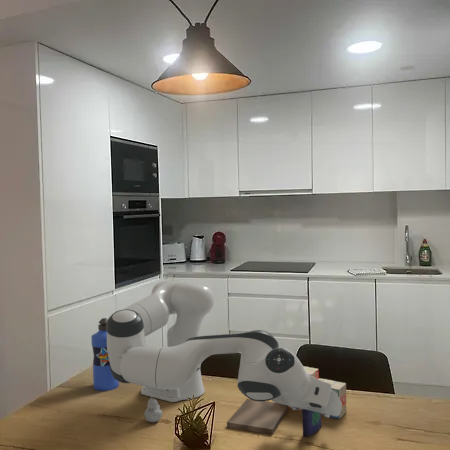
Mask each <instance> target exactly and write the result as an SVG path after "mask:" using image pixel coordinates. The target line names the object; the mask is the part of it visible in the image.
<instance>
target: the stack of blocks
mask: <svg viewBox="0 0 450 450" xmlns="http://www.w3.org/2000/svg"><path fill="white" fill-rule="evenodd" d="M303 367H304V369H305V372H306V373H307V374H309V375H311V376H312V377H314V378H316V379H319V380H321V381H324V382H327V383H329V384H331V386H332V387H331V390H333V391H334V392H335V393H336V394H337V395H338V397H339V398H340V400H341V402H342V409H341V413H340V415H339V416H333V415H330V416H329V418H332V419H338V420H340V419H341V418H342V417H343V416H344V415H345V414H346V413H347V383H346V382H342V381H336V380H332V379H327V378H320V371H319V368H317V367H316V368H315V367H309V366H304V365H303ZM288 408H290V409H292V408H291V407H289V406H288ZM298 411H302V409H301V408H298ZM321 416H323V413H321Z"/></svg>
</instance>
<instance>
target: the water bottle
mask: <svg viewBox="0 0 450 450" xmlns="http://www.w3.org/2000/svg"><path fill="white" fill-rule="evenodd" d="M108 319H109V318H105V317H103V318H102V317H101V319H100V320H99V322H98V325H97V326H98V330H97V332H94V333H93V334H92V335H91V347H92V353H93V361H92V379H93V389H94V390H95V391H99V392H106V391H107V392H108V391H113V390H115V389H117V388H118V387H119V386H120V382H119V381H117V380H116V379H114V378H113V376H112V374H111V370H110V361H109V356H108V351H107V331H106V326H107V321H108Z"/></svg>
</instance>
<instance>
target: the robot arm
mask: <svg viewBox="0 0 450 450" xmlns="http://www.w3.org/2000/svg"><path fill="white" fill-rule="evenodd" d="M214 303H215V297H214V293H213V291H212V289H211V288H209V287H207V286H205V285H203V284H199V283H194V282H189V281H188V282H186V281H178V280H177V281H176V280H165V281H164V280H163V281H159V282H157V283H156V284H155V285H154V286H153V288H152V290H151V293H150V295H148V296H146V297H145V298H142V299H141V300H138V301H137V302H134V303H131V304H130V305H129V306H127V307H125V308H123V309H121V310H120V309H119V310H117V311H115V312H113V313H112V314H111V315H110V316H109V317H108V318H107V319H108V321H107V326H106V331H107V351H108V356H109V361H110V370H111V374H112V376H113V378H114V379H116V380H117V381H119V383H122V384H134V385H137V386H140V387H141V386H142V388H141V390H140V394H141V395H144V396H147V397H150V398H151V397H152V398H153V399H154V398H155V399H159V400H162V401H165V402H169V403H170V402H171V403H175V402H179V401H185V400H191V399H196V398H198V397H201V396H202V395H204V393H205V392H206V391H205V389H206V388H205V386H204V383H203V377H202V372H201V366H202V365H201V364H202V363H203V361H205V360H206V359H207V358H208V357H210V356H212V355H221V354H222V355H223V354H225V355H226V354H241V355H240V361H239V362H240V363H239V369H238V376H237V388H238V390H239V391H240V393H241V394H242V395H244V396H245V397H246V398H247V399H251V400H254V401H266V402H270V401H272V402H273V403H279V404H283V405H288V406H289V407H288V408H290V407H291V408H290V409H292V410H293V411H299V410H298V408H301V409H306V410H310V411H315V412H319V413H323V415H322V416H323V417H324V418H330V417H329V416H330V415H333V416H339V415H340V413H341V409H342V402H341V400H340V398H339V397H338V395H337V394H336V393H335V392H334V391H333V390H331V387H332V386H331V384H329V383H327V382H324V381H321V380H319V379H316V378H314V377H312V376H311V375H309V374H307V373H306V372H305V369H304V367H303V366H304V365H303V364H302V362H301V361H300V359H299V358H298V357H297V355H296V354H294V352H292V351H291V350H289V349H287V348H284V347H280V345H279V342H278V341H277V339H276V338H275V336H274V335H273V334H271V333H270V332H268V331H266V330H264V329H263V330H262V329H257V330H256V329H255V330H250V331H246V332H241V333H225V334H212V335H201V336H200V328H201V325H202V322H203V319H204V318H205V317H206V316H207V315H208V314H209V313H210V312H211V311H212V309H213V307H214ZM175 314H176V320H175V323H174V324H173V325H171V326H170V327H169V328H168V329H167V332H166V339H167V341H166V342H167V343H166V344H167V346H160V345H159V346H158V345H154V346H153V345H149V346H148V345H147V343H146V337H147V336H149V335H151V334H153V333H155V332H156V331H158V330H160V329H162V328H163V327H165V326H166V325H167V323H168V321H169V318H170V315H175ZM193 395H194V398H193ZM188 397H189V398H190V399H188Z"/></svg>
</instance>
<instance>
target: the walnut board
mask: <svg viewBox="0 0 450 450" xmlns="http://www.w3.org/2000/svg"><path fill="white" fill-rule="evenodd" d="M289 408H290V407H288V405H283V404H279V403H275V402H273V401H272V402H271V401H254V400H251V399H249V398H246V400H244V402H243V403H242V404H241V405H240V406H239V407H238V408H237V409H236V411H235V412H234V413H233V414H232V415H231V417H230V418H229V419H228V420H227V422H226V427H227V428H229V429H237V430H242V431H250V432H255V433H262V434H266V435H267V434H268V435H274V434H275V432H276V430H277V428H278V427H279V425H280V424H281V422H282V421H283V419H284V417H285V416H286V414H287V412H288V411H289Z"/></svg>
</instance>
